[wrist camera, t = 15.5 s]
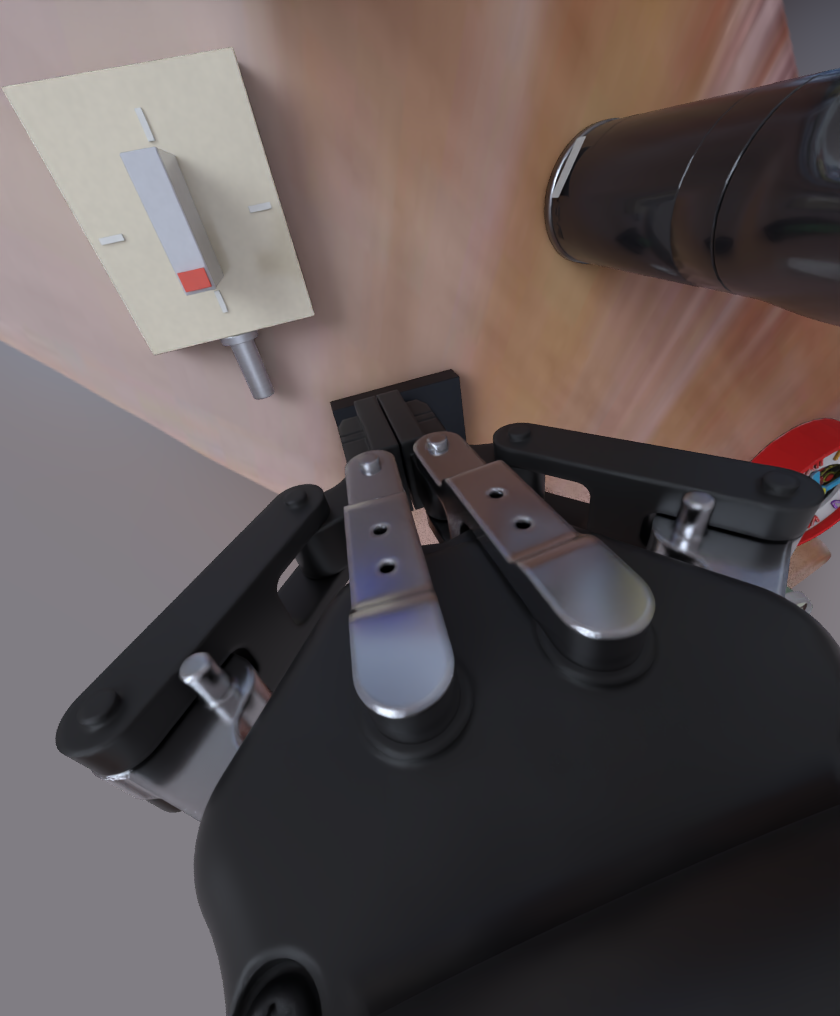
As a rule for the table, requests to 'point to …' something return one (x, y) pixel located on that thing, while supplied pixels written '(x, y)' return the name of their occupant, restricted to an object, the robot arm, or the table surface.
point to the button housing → (431, 389)
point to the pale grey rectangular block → (174, 217)
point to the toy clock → (811, 465)
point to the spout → (250, 363)
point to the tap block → (209, 176)
